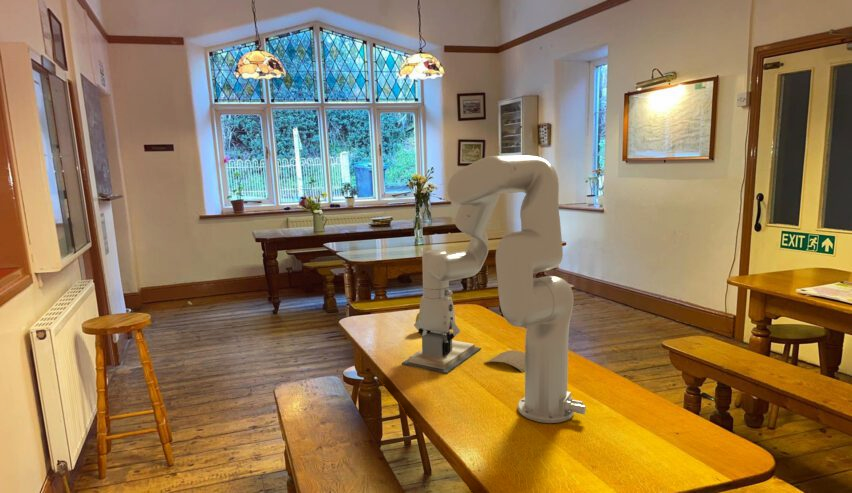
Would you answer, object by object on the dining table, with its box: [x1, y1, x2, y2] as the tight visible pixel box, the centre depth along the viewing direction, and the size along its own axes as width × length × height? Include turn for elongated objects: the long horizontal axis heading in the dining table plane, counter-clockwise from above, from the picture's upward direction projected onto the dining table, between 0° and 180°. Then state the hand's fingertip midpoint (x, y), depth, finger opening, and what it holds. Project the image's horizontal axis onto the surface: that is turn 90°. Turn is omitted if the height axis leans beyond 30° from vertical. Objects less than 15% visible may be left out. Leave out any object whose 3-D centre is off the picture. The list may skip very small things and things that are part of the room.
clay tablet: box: [484, 350, 525, 374], centre depth 149 cm, size 14×10×3 cm
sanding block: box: [421, 330, 453, 360], centre depth 152 cm, size 8×6×6 cm
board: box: [401, 339, 482, 375], centre depth 155 cm, size 22×15×2 cm
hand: (437, 351), depth 152 cm, fingers closed on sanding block, 5 cm apart
